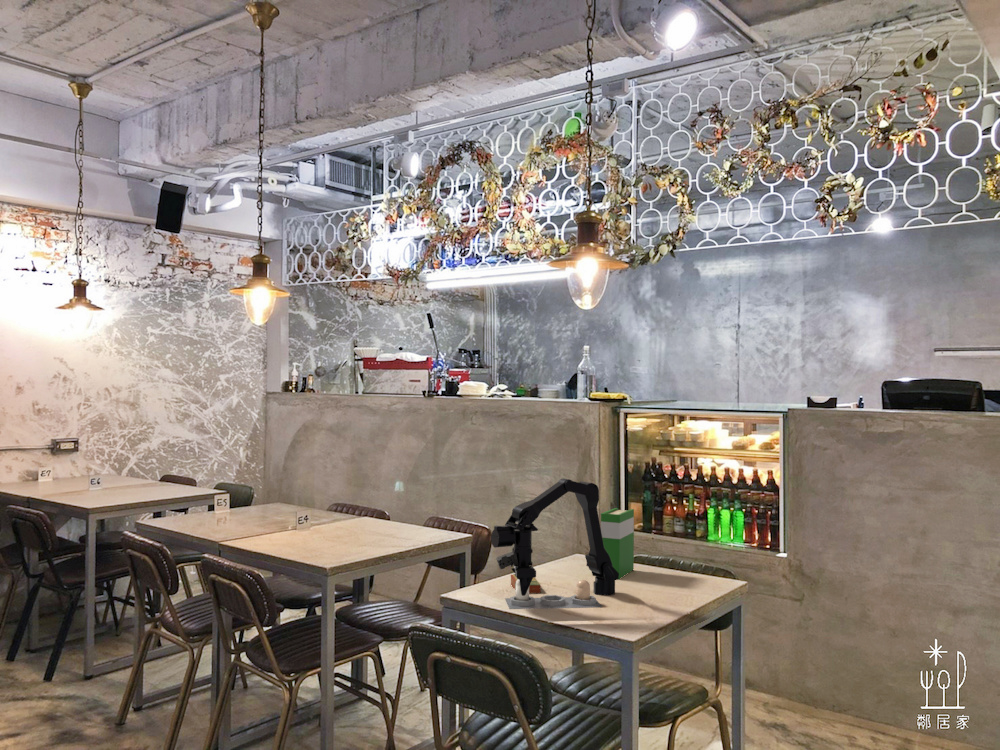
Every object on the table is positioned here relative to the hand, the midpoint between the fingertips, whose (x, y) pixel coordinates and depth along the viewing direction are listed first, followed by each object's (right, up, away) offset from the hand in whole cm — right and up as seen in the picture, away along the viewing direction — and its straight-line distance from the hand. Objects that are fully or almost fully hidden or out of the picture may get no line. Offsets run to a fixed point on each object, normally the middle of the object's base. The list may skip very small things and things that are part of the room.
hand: (522, 593), depth 252 cm
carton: (+2, -5, +21) cm, 22 cm away
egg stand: (+10, -4, +1) cm, 11 cm away
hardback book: (+38, -6, +48) cm, 62 cm away
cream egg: (0, -2, 0) cm, 2 cm away
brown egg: (+20, -3, +2) cm, 20 cm away
